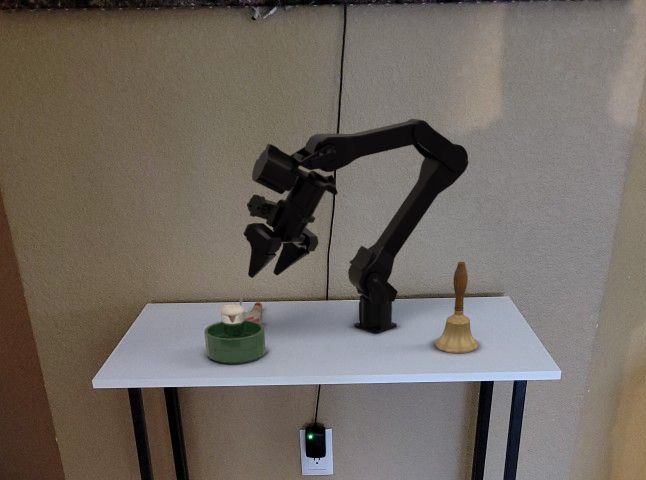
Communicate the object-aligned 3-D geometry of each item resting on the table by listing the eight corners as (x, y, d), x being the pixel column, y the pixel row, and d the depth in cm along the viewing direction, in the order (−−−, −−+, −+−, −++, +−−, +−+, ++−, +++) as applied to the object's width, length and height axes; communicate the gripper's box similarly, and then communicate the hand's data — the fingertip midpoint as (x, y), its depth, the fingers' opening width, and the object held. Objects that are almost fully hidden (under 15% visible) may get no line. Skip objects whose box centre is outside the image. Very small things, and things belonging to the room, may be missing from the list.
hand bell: (474, 355, 141) (482, 269, 133) (431, 351, 143) (435, 266, 135) (480, 340, 148) (487, 257, 139) (438, 336, 150) (443, 255, 142)
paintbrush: (236, 325, 149) (249, 299, 166) (237, 338, 150) (250, 311, 168) (255, 324, 149) (267, 299, 166) (256, 338, 150) (268, 311, 167)
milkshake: (255, 349, 144) (251, 297, 139) (237, 357, 141) (233, 305, 135) (237, 344, 147) (232, 294, 141) (219, 353, 143) (214, 301, 138)
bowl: (277, 354, 144) (276, 329, 141) (230, 370, 137) (227, 343, 134) (242, 340, 151) (240, 315, 148) (195, 354, 144) (192, 329, 142)
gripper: (294, 181, 148) (259, 249, 156) (241, 175, 132) (205, 251, 141) (335, 214, 146) (298, 282, 154) (287, 212, 131) (248, 288, 139)
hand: (263, 275), depth 147 cm, fingers open, 9 cm apart
